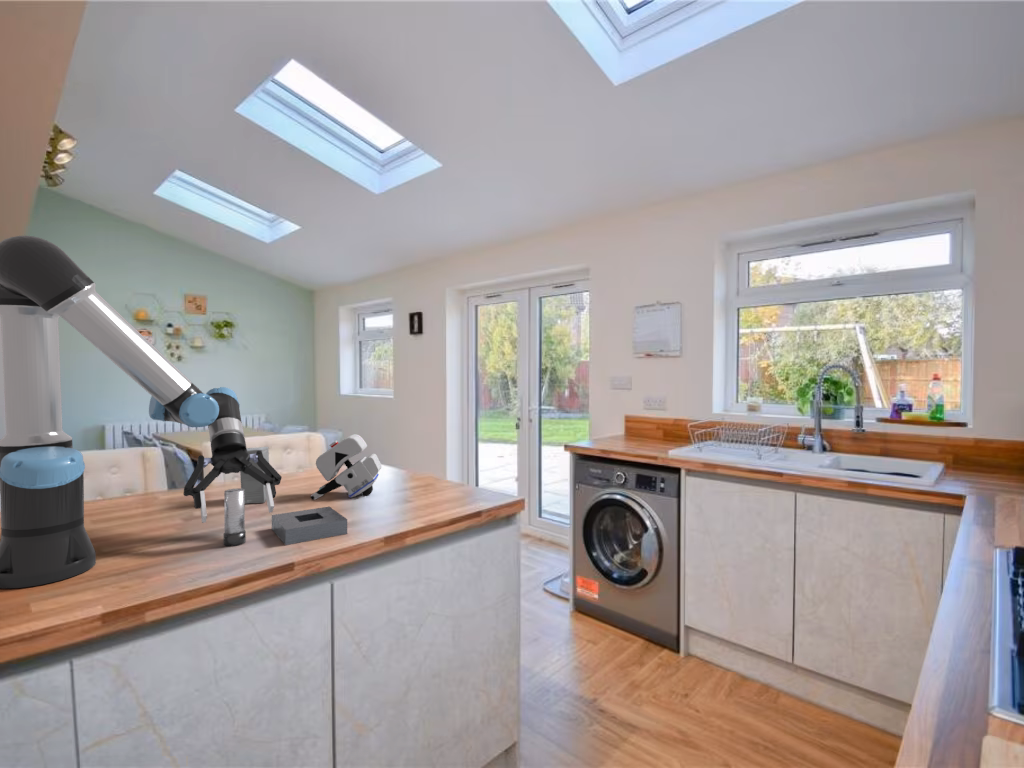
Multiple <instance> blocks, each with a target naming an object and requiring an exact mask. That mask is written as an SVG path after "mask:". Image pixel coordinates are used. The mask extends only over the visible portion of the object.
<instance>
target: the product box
mask: <svg viewBox="0 0 1024 768" xmlns="http://www.w3.org/2000/svg"><path fill="white" fill-rule="evenodd" d="M246 448H247V452H248V453H249V454H255V453H256V452H257V451H261V452H262V454H263V457H264V458H265V459H266V461H267V462H268V463H269V464H270V457H269V456H270V455H269V454H270V453H269V451H270V450H269V446H261V447H260V446H259V447H246ZM249 462H251V463H252V465H253V466H255V467H256V468H258V469H259V470H261V471H262V472H263V470H262V469H261V468H260V467H259V466H258V465H257V463H254V461H253V460H249ZM245 467H246V466H245ZM239 474H240V489H245V504H264V503H265V502H267V500H266V495H265V485H263V484H262V483H260V482H259V481H257V480H256V479H254V478H253V477H251V476H250V475H248V474H245V473H243V472H242V471H240V472H239Z"/></svg>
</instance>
